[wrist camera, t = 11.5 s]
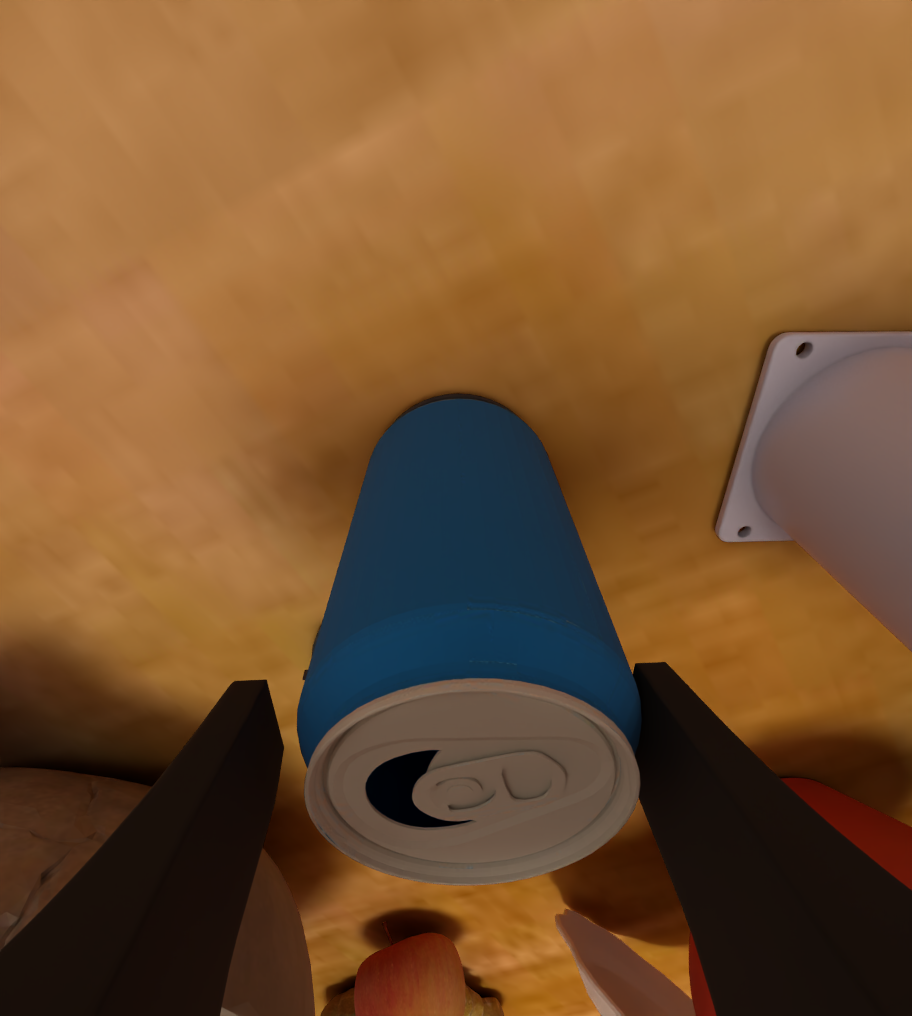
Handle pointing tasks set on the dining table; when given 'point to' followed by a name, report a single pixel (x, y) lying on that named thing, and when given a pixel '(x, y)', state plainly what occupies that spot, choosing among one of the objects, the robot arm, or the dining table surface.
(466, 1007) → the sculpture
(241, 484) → the dining table surface
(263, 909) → the bowl
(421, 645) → the beverage can
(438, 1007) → the apple
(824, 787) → the decorative vase
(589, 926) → the plate
